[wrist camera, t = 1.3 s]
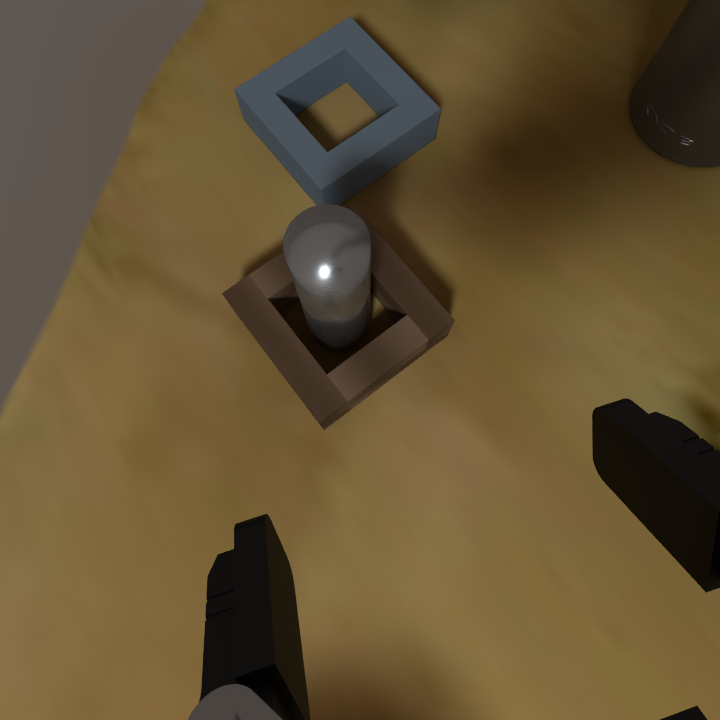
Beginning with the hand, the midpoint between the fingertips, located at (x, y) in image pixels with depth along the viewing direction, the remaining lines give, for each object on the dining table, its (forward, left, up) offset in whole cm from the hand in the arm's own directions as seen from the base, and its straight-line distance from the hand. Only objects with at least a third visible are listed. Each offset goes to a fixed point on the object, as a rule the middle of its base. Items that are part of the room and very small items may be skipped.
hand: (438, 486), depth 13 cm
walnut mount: (-4, -11, -20) cm, 23 cm away
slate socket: (-13, -23, -20) cm, 33 cm away
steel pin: (-4, -11, -20) cm, 23 cm away
